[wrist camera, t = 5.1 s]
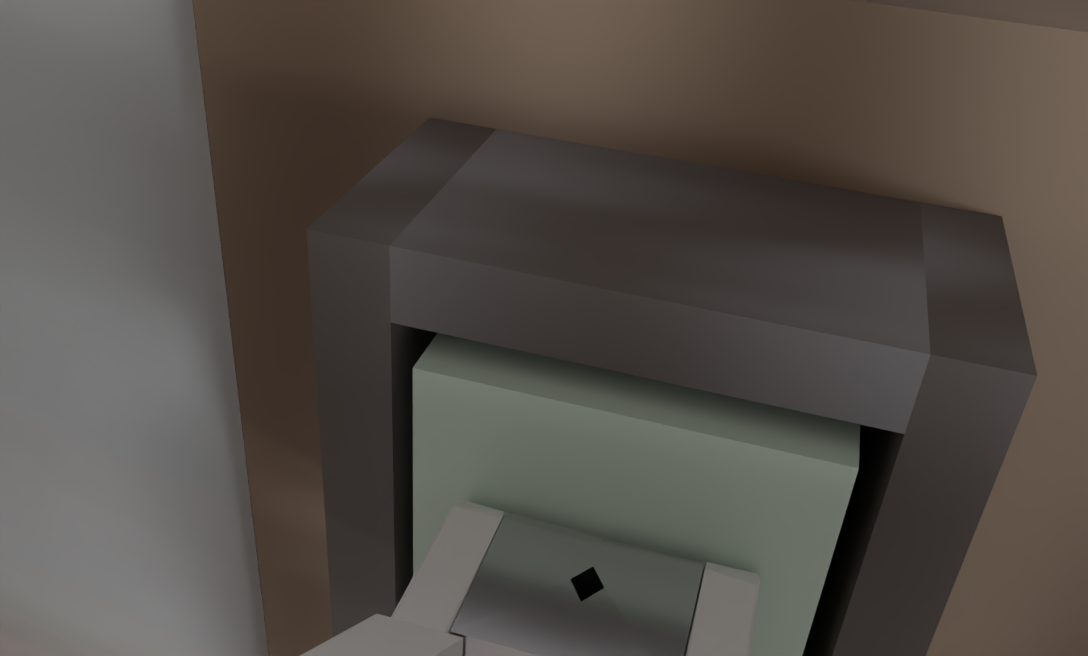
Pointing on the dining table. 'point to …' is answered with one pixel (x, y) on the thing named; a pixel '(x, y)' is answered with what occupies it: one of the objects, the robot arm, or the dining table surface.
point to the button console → (673, 269)
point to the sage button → (636, 468)
